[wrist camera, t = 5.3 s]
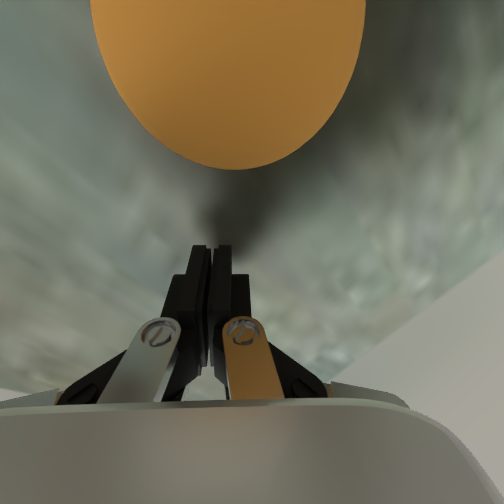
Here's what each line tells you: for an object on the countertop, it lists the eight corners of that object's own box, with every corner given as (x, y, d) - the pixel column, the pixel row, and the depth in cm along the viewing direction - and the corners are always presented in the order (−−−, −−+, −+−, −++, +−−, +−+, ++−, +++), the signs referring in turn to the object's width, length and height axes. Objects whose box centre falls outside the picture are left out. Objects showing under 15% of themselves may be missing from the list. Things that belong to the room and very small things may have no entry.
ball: (-31, -512, 3) (154, -51, 8) (11, 133, 4) (142, 153, 10) (517, -313, 3) (341, -5, 9) (366, 199, 5) (299, 182, 11)
